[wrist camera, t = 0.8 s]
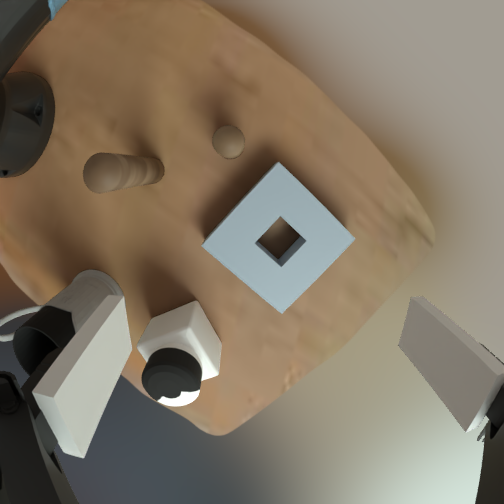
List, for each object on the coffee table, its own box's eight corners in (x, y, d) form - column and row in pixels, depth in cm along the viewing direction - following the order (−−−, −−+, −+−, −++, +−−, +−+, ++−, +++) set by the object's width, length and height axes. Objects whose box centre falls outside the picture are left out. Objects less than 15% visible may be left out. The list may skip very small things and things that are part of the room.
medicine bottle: (150, 318, 38) (121, 371, 26) (197, 298, 37) (181, 351, 26) (176, 359, 40) (159, 419, 28) (222, 343, 39) (217, 404, 28)
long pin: (135, 172, 33) (76, 176, 20) (151, 152, 33) (98, 144, 19) (153, 188, 34) (102, 201, 20) (169, 169, 33) (125, 169, 20)
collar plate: (204, 239, 35) (201, 246, 33) (275, 162, 33) (278, 162, 31) (278, 302, 38) (281, 313, 35) (346, 233, 36) (355, 238, 33)
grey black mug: (128, 333, 38) (85, 403, 24) (46, 317, 38) (-10, 369, 23) (124, 273, 36) (67, 329, 22) (38, 262, 35) (-30, 302, 21)
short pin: (211, 147, 33) (205, 142, 27) (229, 127, 32) (227, 119, 26) (231, 164, 33) (229, 163, 28) (249, 145, 33) (251, 139, 27)
